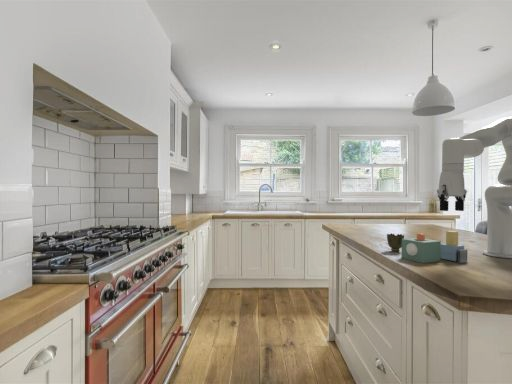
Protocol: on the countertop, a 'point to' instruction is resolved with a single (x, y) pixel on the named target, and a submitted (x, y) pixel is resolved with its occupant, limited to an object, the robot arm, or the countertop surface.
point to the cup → (395, 241)
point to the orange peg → (421, 237)
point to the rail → (460, 256)
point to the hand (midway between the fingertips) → (451, 210)
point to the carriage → (450, 246)
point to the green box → (421, 250)
